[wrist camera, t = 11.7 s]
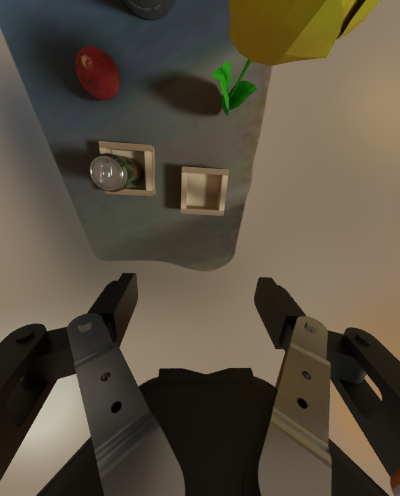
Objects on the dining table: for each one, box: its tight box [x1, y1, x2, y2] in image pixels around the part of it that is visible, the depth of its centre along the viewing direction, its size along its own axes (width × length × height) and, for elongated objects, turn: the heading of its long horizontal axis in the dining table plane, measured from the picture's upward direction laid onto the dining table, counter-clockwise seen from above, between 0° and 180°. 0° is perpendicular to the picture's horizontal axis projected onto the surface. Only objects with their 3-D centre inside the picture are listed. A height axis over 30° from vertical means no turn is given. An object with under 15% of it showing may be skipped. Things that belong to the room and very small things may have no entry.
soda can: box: [90, 153, 144, 192], centre depth 31 cm, size 5×5×12 cm
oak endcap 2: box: [181, 167, 229, 216], centre depth 37 cm, size 8×8×4 cm
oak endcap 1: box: [99, 141, 155, 196], centre depth 35 cm, size 8×8×4 cm
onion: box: [75, 46, 120, 101], centre depth 28 cm, size 6×6×8 cm
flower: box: [211, 0, 380, 115], centre depth 19 cm, size 9×8×30 cm
